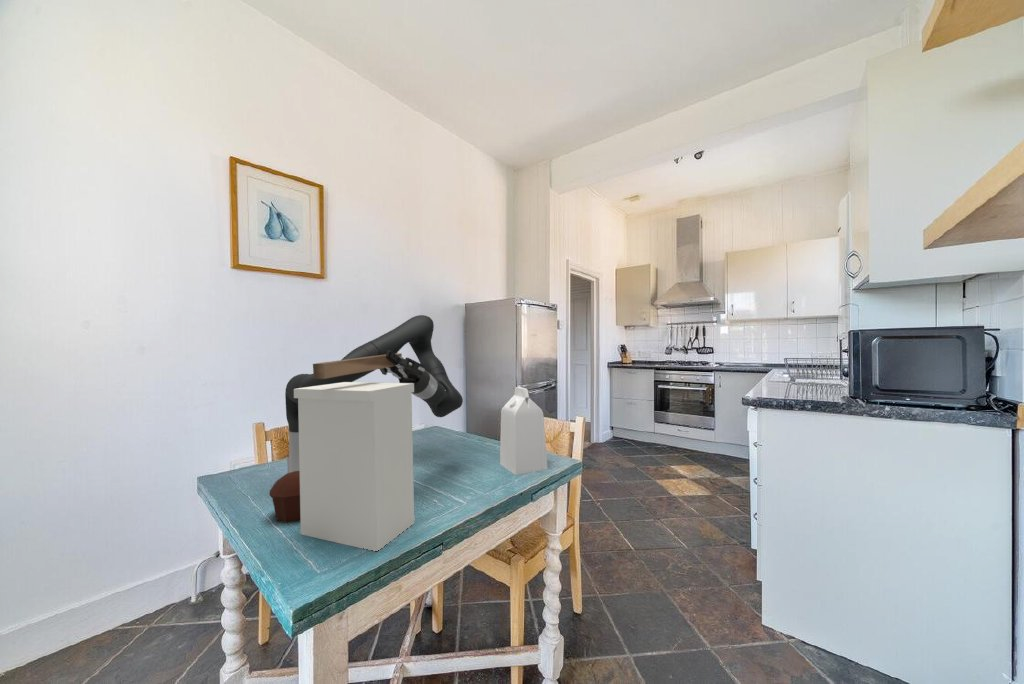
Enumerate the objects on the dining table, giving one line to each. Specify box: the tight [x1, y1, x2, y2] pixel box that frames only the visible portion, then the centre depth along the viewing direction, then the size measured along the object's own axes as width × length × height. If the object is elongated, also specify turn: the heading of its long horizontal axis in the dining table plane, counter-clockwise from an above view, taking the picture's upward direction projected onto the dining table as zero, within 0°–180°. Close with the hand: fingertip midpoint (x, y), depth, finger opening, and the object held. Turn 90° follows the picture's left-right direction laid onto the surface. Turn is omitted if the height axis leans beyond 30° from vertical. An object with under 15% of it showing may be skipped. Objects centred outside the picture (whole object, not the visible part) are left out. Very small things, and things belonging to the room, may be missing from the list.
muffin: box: [269, 471, 301, 523], centre depth 89 cm, size 12×11×10 cm
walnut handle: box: [312, 352, 403, 379], centre depth 84 cm, size 3×24×3 cm, turn 158°
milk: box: [499, 386, 549, 476], centre depth 120 cm, size 12×12×26 cm
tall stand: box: [294, 381, 415, 552], centre depth 81 cm, size 21×14×32 cm, turn 69°
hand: (382, 353), depth 90 cm, fingers closed on walnut handle, 3 cm apart
